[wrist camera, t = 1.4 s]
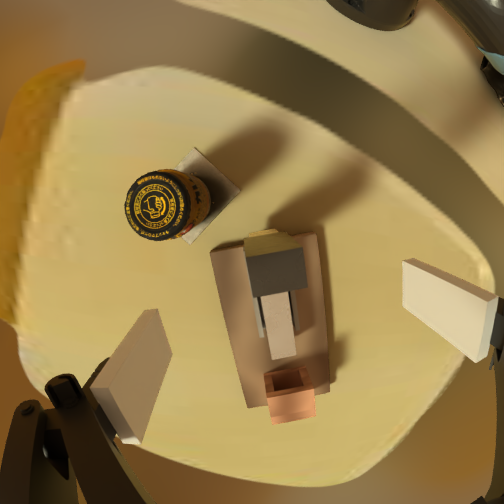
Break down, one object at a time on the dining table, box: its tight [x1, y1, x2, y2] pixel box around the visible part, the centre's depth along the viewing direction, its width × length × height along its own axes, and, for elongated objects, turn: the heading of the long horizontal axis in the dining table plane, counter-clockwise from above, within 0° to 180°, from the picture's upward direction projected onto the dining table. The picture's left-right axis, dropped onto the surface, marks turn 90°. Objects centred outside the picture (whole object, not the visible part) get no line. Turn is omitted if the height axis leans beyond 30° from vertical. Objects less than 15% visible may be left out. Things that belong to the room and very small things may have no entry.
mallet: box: [244, 229, 308, 360], centre depth 26 cm, size 4×14×11 cm, turn 10°
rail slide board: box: [210, 232, 330, 425], centre depth 32 cm, size 12×23×7 cm, turn 10°
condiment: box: [125, 148, 241, 245], centre depth 25 cm, size 7×8×12 cm
